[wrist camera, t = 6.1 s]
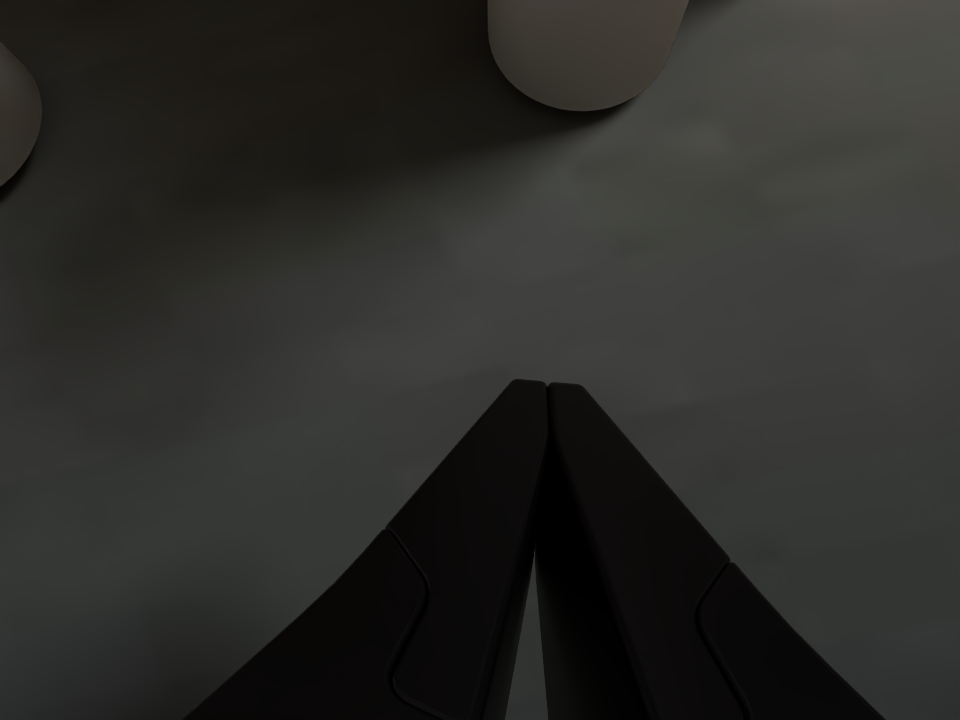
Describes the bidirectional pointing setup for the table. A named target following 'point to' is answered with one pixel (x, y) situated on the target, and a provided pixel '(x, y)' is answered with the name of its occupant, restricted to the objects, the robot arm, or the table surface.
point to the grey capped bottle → (17, 114)
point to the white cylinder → (582, 47)
